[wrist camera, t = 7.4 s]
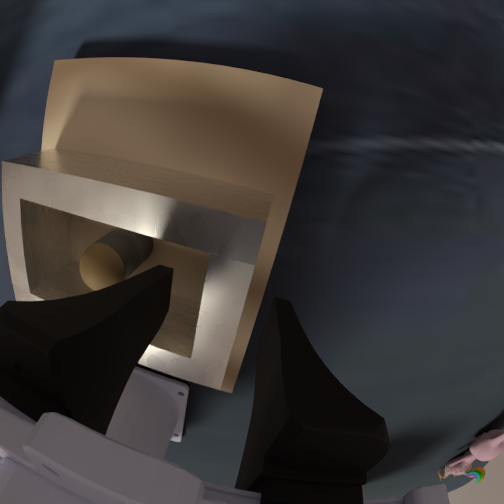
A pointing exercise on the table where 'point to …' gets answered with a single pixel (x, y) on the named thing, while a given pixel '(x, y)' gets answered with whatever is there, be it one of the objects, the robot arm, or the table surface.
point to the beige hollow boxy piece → (144, 222)
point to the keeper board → (181, 156)
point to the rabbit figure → (476, 455)
